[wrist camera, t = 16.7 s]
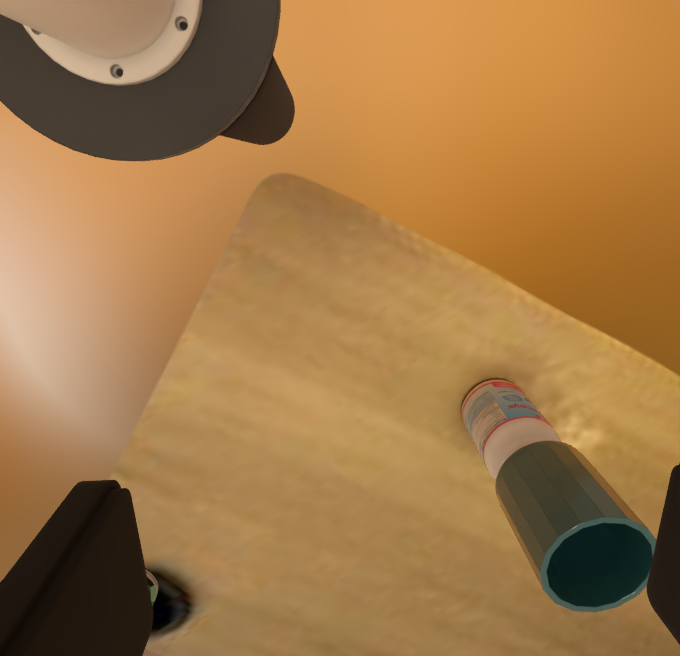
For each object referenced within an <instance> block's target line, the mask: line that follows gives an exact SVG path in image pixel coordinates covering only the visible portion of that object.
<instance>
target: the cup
mask: <svg viewBox="0 0 680 656" xmlns="http://www.w3.org/2000/svg"><path fill="white" fill-rule="evenodd" d="M496 495H497V498H498V500H499V502H500V506H501V508H502V510H503V512H504V514H505V516H506V518H507V520H508V522H509V524H510V525H511V527H512V529H513V531H514V533H515V535H516V537H517V539H518V541H519V543H520V545H521V547H522V549H523V551H524V553H525V555H526V557H527V559H528V561H529V563H530V565H531V567H532V568H533V570H534V572H535V574H536V576H537V578H538V580H539V582H540V584H541V586H542V588H543V590H544V591H545V592H546V593H547V594H548V596H549V597H550V598H551V599H552V600H553V601H554V602H555V603H556V604H558V605H561V606H563V607H565V608H568V609H570V610H572V611H581V612H599V611H603V610H607V609H611V608H615V607H618V606H620V605H622V604H624V603H625V602H627V601H629V600H631V599H632V598H634V597H636V596H637V595H639V594H640V593H641V592H642V590H643V589H644V588H645V587H646V586H647V582H648V577H649V573H650V568H651V563H652V559H653V554H654V550H655V545H656V541H657V540H656V539H655V538H654V536H653V535H652V534H651V532H650V531H649V529H648V528H647V527H646V526H645V525H644V524H643V522H642V521H641V520H640V519H639V518H638V517H637V516H636V514H635V513H634V512H633V511H632V510H631V509H630V508H629V506H628V505H627V504H626V503H625V502H624V501H623V500H622V499H621V497H620V496H619V495H618V494H617V493H616V492H615V491H614V489H613V488H612V487H611V486H610V485H609V484H608V483H607V482H606V480H605V479H604V478H603V477H602V476H601V475H600V474H599V472H598V471H597V470H596V469H595V468H594V467H593V466H592V464H591V463H590V462H589V461H588V460H587V459H586V458H585V457H584V455H583V454H582V453H580V452H579V451H578V450H577V449H576V448H574V447H572V446H571V445H568V444H566V443H563V442H559V441H539V442H534V443H531V444H528V445H526V446H524V447H522V448H520V449H518V450H517V451H515V452H514V453H513V454H512V455H511V456H509V457H508V458H507V460H506V461H505V462H504V463H503V465H502V466H501V468H500V470H499V472H498V475H497V478H496Z"/></svg>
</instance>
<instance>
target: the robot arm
mask: <svg viewBox="0 0 680 656" xmlns="http://www.w3.org/2000/svg"><path fill="white" fill-rule="evenodd" d="M202 4H203V0H0V14H1V15H3V16H6V17H8V18H10V19H12V20H14V21H17V22H19V23H21V24H23V26H24V28H25V29H26V31H27V32H28V33H29V35H30V36H31V37H32V38H33V40H34V41H35V42H36V44H37V45H38V46H39V47H40V48H41V49H42V50H43V51H44V52H45V53H46V54H47V55H48V56H49V57H51V58H52V59H53V60H54V61H55V62H57V63H58V64H60V65H61V66H63V67H64V68H66V69H67V70H69V71H70V72H72V73H74V74H77V75H79V76H81V77H84V78H86V79H88V80H91V81H95V82H98V83H101V84H108V85H116V86H125V85H137V84H140V83H143V82H147V81H150V80H153V79H154V78H156V77H158V76H160V75H162V74H163V73H165V72H167V71H168V70H169V69H170V68H171V67H172V66H173V65H175V64H176V63H177V62H178V61H179V60H180V59H181V57H182V56H183V55H184V53H185V52H186V50H187V49H188V48H189V46H190V44H191V42H192V40H193V38H194V36H195V33H196V31H197V29H198V25H199V21H200V17H201V13H202ZM183 23H187V25H188V27H187V29H186V30H182V28H181V26H182V24H183ZM121 69H122V70H123V75H122V77H120V76H119V74H118V71H119V70H121ZM647 594H648V598H649V601H650V603H651V606H652V607H653V609H654V610H655V612H656V613H657V614H658V616H659V617H660V619H661V620H662V621H663V623H664V624H665V625H666V627H667V628H668V629H669V631H670V632H671V633H672V635H673V636H674V638H675V639H676V640H677V642H678V643H679V644H680V464H679V465H677V466H675V467H674V468H673V470H672V473H671V477H670V481H669V486H668V490H667V495H666V500H665V504H664V509H663V513H662V518H661V522H660V527H659V532H658V536H657V541H656V545H655V550H654V554H653V559H652V563H651V568H650V573H649V577H648V582H647ZM152 624H153V606H152V601H151V596H150V591H149V585H148V580H147V575H146V570H145V565H144V560H143V554H142V549H141V544H140V539H139V534H138V528H137V523H136V518H135V513H134V508H133V503H132V497H131V494H130V491H129V490H128V489H126V488H122V489H121V487H120V485H119V483H118V482H117V481H115V480H103V481H82V482H79V483H77V484H76V485H75V486H74V488H73V489H72V490H71V491H70V493H69V494H68V495H67V497H66V498H65V500H64V501H63V502H62V503H61V505H60V506H59V507H58V508H57V510H56V511H55V512H54V514H53V515H52V516H51V518H50V519H49V520H48V522H47V523H46V524H45V526H44V527H43V528H42V529H41V531H40V532H39V533H38V535H37V536H36V537H35V539H34V540H33V541H32V542H31V544H30V545H29V547H28V548H27V549H26V550H25V552H24V553H23V554H22V556H21V557H20V558H19V560H18V561H17V562H16V564H15V565H14V566H13V567H12V569H11V570H10V571H9V573H8V574H7V575H6V577H5V578H4V579H3V580H2V581H1V582H0V656H142V655H143V652H144V649H145V647H146V644H147V641H148V638H149V636H150V632H151V629H152Z"/></svg>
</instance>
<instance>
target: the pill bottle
mask: <svg viewBox="0 0 680 656" xmlns="http://www.w3.org/2000/svg"><path fill="white" fill-rule="evenodd" d="M462 420H463V422H464V425H465V427H466V429H467V431H468V433H469V434H470V436H471V438H472V440H473V442H474V444H475V446H476V448H477V450H478V452H479V454H480V455H481V457H482V459H483V461H484V463H485V465H486V467H487V469H488V470H489V472H490V474H491V475H492V476H493V477H494V478H495V479H496V478H497V475H498V472H499V470H500V468H501V466H502V465H503V463H504V462H505V461H506V460H507V458H508V457H509V456H511V455H512V454H513V453H514V452H515V451H517V450H518V449H520V448H522V447H524V446H526V445H528V444H531V443H534V442H539V441H559V442H561V440H560V438H559V436H558V434H557V433H556V432H555V430H554V429H553V428H552V427H551V425H550V424H549V423H548V422H547V421H546V419H545V418H544V417H543V416H542V415H541V413H540V412H539V411H538V410H537V409H536V408H535V406H534V405H533V404H532V403H531V402H530V400H529V399H528V398H527V397H526V396H525V394H524V393H523V392H522V391H521V390H520V389H519V388H518V387H517V386H516V385H514V384H512V383H510V382H508V381H504V380H489V381H485V382H483V383H481V384H479V385H478V386H476V387H475V388H474V389H473V390H472V391H471V392H470V393H469V394H468V395H467V397H466V399H465V400H464V403H463V405H462Z"/></svg>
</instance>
